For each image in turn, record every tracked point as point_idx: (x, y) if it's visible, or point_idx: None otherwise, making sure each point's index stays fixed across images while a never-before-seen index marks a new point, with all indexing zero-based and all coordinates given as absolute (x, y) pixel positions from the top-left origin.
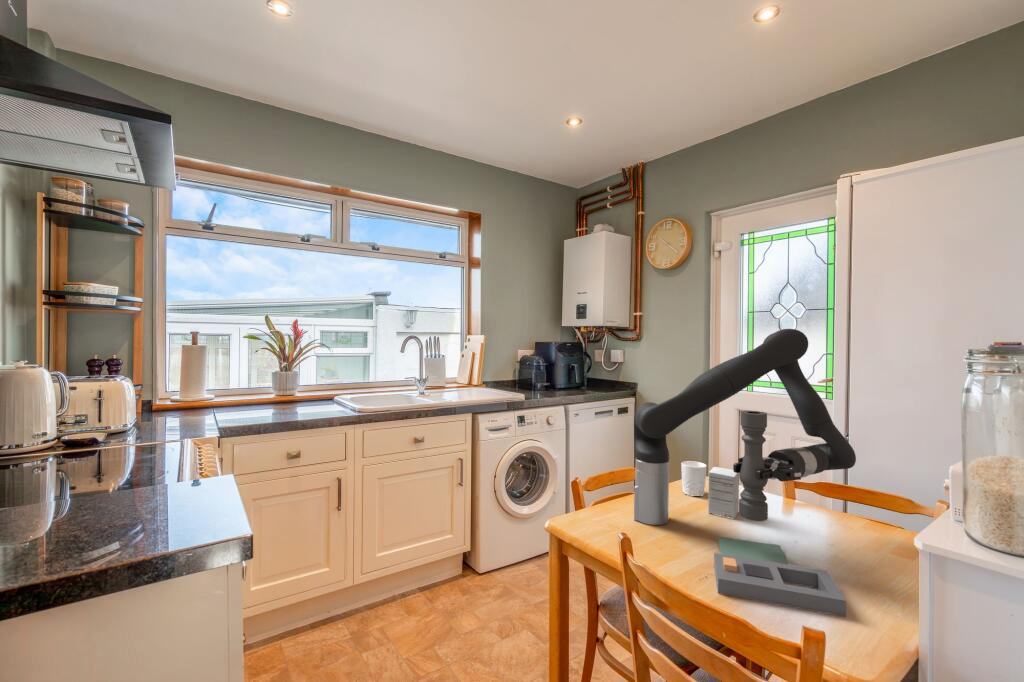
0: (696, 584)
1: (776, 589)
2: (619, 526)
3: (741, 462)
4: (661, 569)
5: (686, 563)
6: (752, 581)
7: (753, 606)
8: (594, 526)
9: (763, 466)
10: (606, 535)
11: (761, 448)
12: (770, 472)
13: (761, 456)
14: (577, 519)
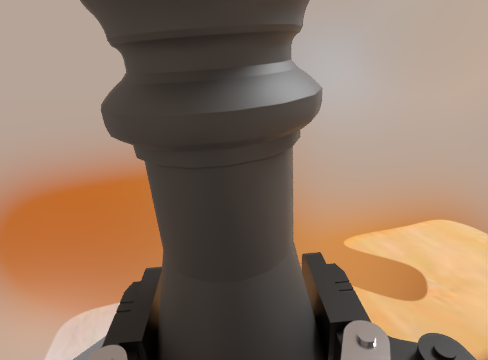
0: None
1: (86, 351)
2: (464, 294)
3: (332, 292)
4: None
5: None
6: None
7: None
8: (450, 258)
9: (160, 309)
10: (406, 260)
11: (150, 185)
12: (108, 331)
13: (162, 245)
14: (483, 247)
